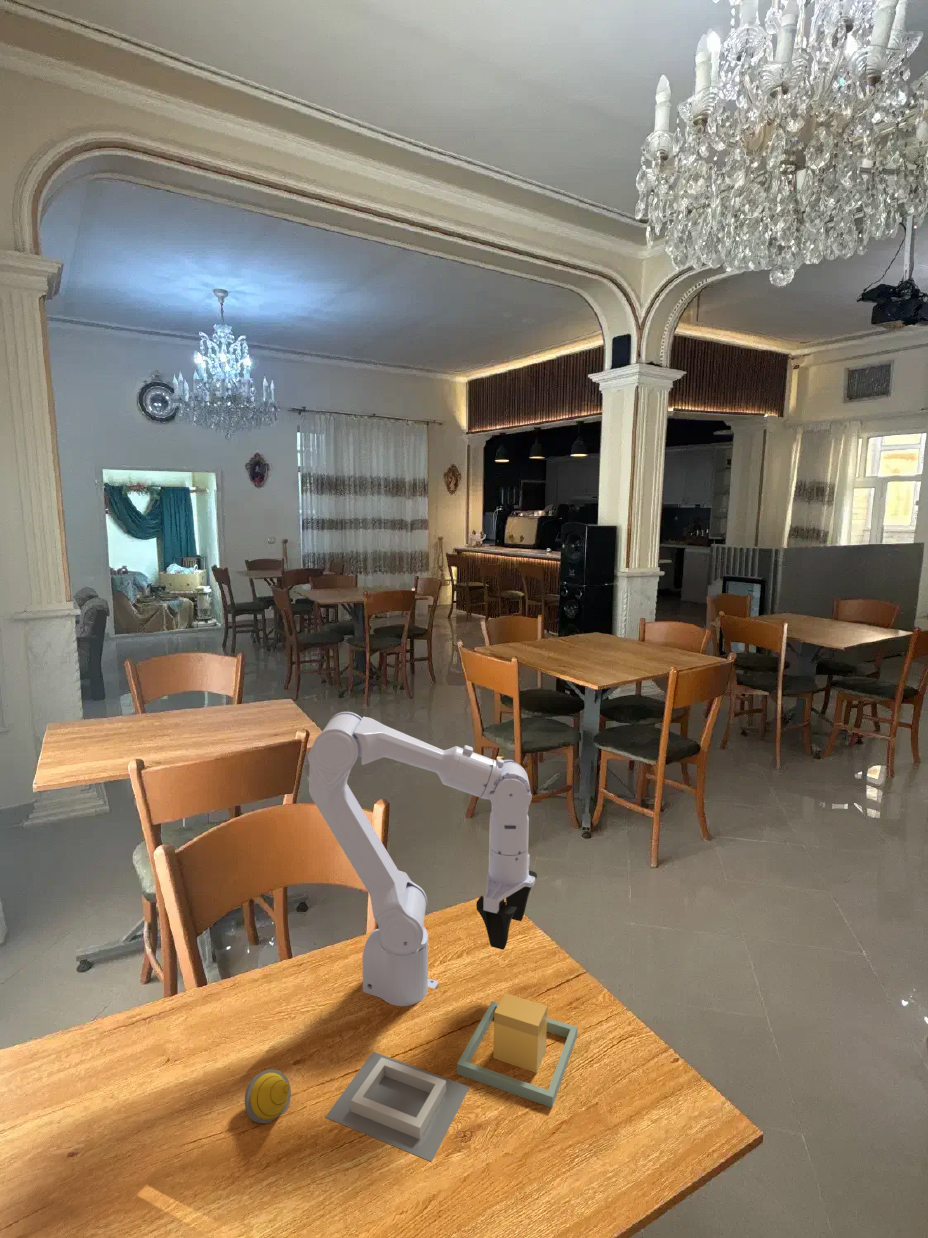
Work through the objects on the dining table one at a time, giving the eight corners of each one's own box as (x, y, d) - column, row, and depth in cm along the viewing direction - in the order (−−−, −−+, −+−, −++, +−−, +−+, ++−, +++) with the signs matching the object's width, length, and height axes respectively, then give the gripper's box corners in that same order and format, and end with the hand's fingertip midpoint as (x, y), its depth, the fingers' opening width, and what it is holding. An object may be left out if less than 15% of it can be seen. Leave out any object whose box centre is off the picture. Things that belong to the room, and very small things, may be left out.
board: (325, 1123, 80) (324, 1106, 80) (372, 1057, 90) (372, 1041, 90) (431, 1168, 75) (431, 1149, 74) (469, 1092, 85) (470, 1076, 84)
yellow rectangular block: (493, 1060, 89) (494, 1012, 88) (503, 1039, 93) (505, 993, 92) (536, 1075, 87) (538, 1026, 86) (545, 1053, 90) (547, 1006, 90)
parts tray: (456, 1079, 87) (457, 1064, 86) (491, 1015, 98) (491, 1001, 98) (552, 1113, 82) (552, 1097, 81) (577, 1041, 93) (577, 1027, 93)
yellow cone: (287, 1089, 85) (318, 1073, 79) (264, 1137, 81) (296, 1124, 75) (252, 1066, 85) (281, 1049, 79) (228, 1113, 81) (256, 1099, 75)
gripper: (518, 875, 91) (516, 968, 92) (549, 831, 104) (546, 913, 106) (470, 864, 93) (469, 955, 95) (506, 822, 107) (504, 903, 108)
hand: (507, 932), depth 101 cm, fingers open, 7 cm apart
